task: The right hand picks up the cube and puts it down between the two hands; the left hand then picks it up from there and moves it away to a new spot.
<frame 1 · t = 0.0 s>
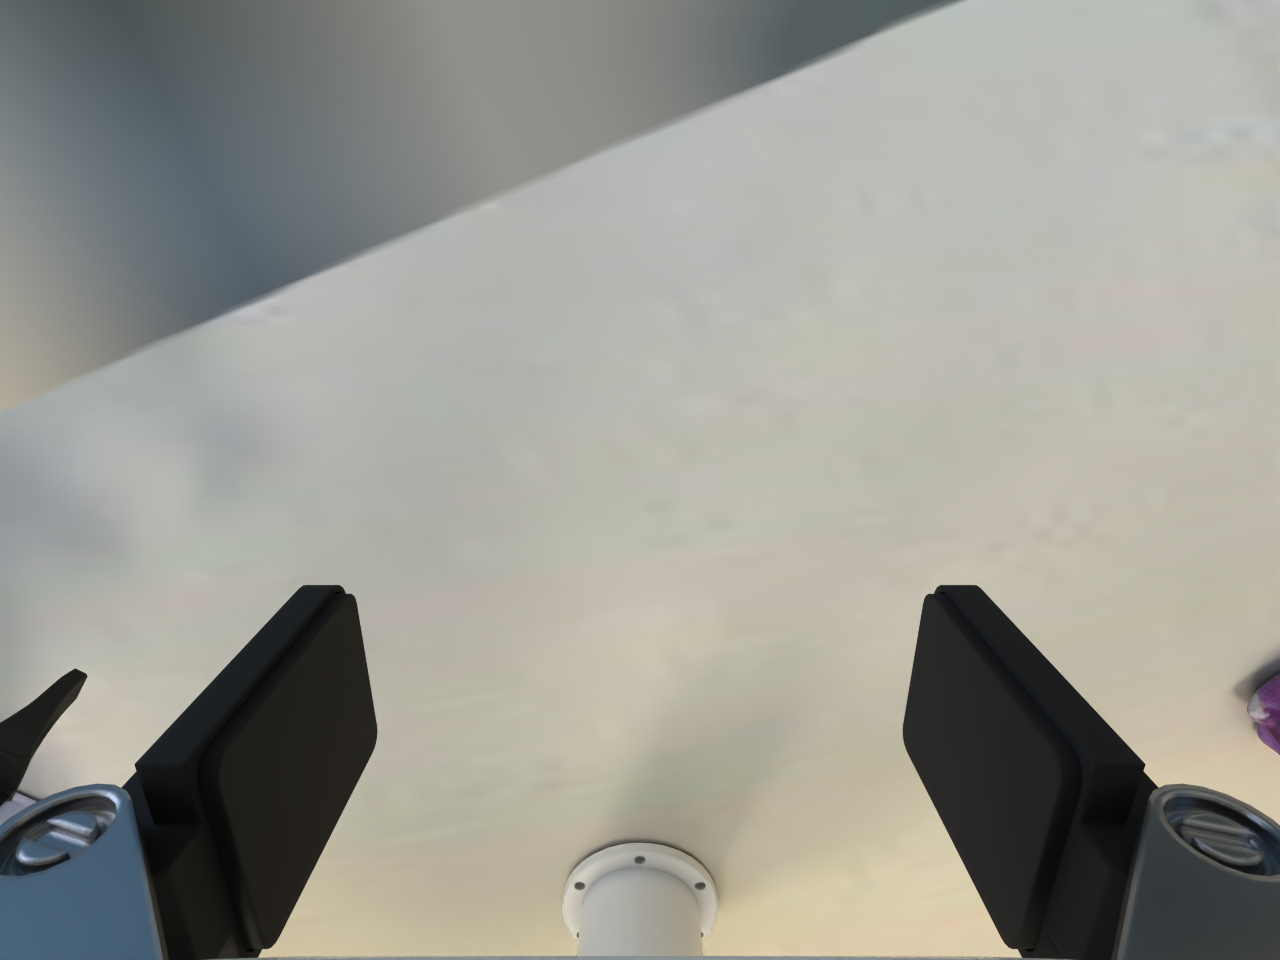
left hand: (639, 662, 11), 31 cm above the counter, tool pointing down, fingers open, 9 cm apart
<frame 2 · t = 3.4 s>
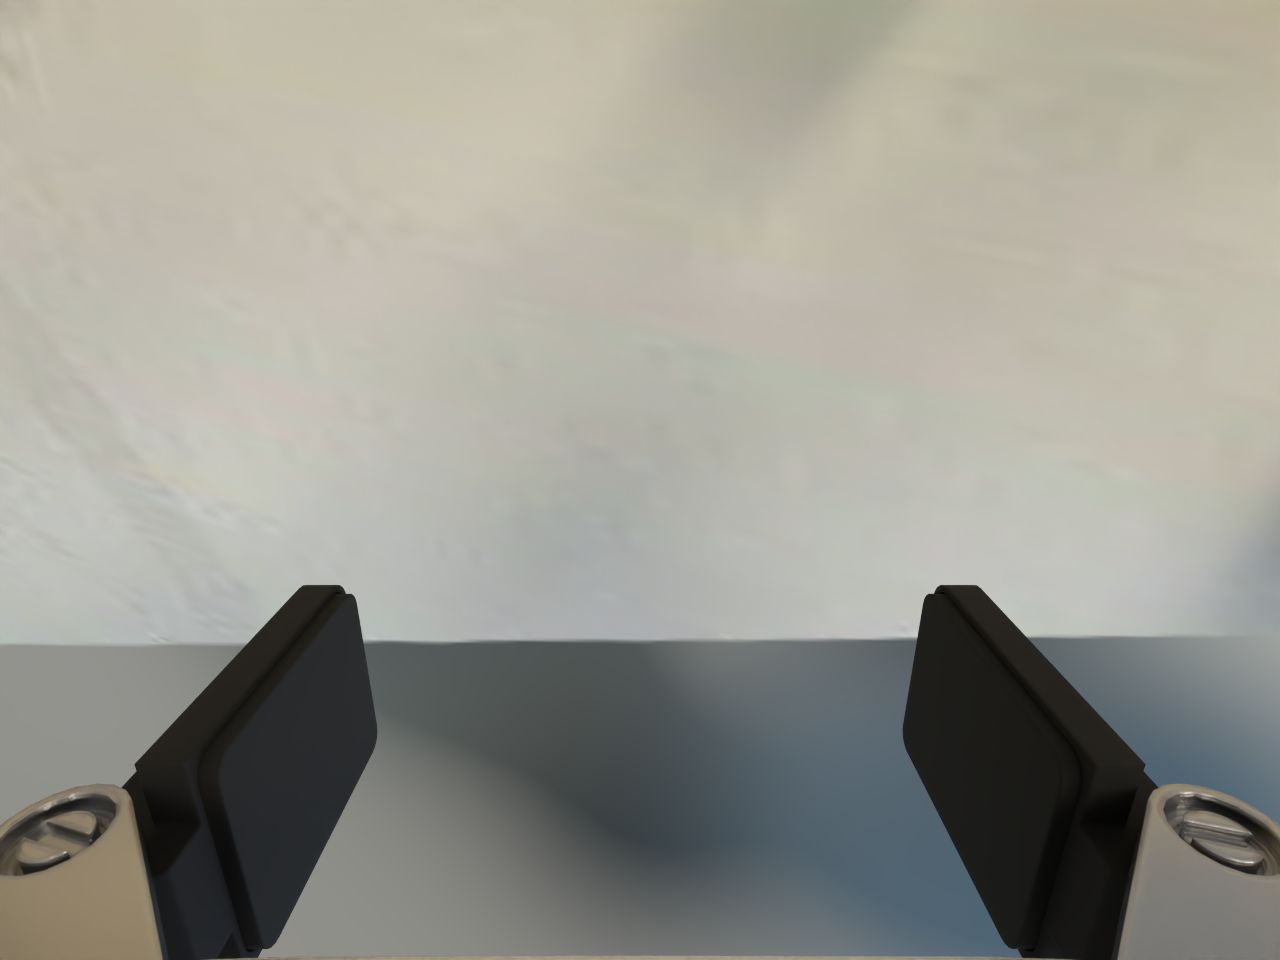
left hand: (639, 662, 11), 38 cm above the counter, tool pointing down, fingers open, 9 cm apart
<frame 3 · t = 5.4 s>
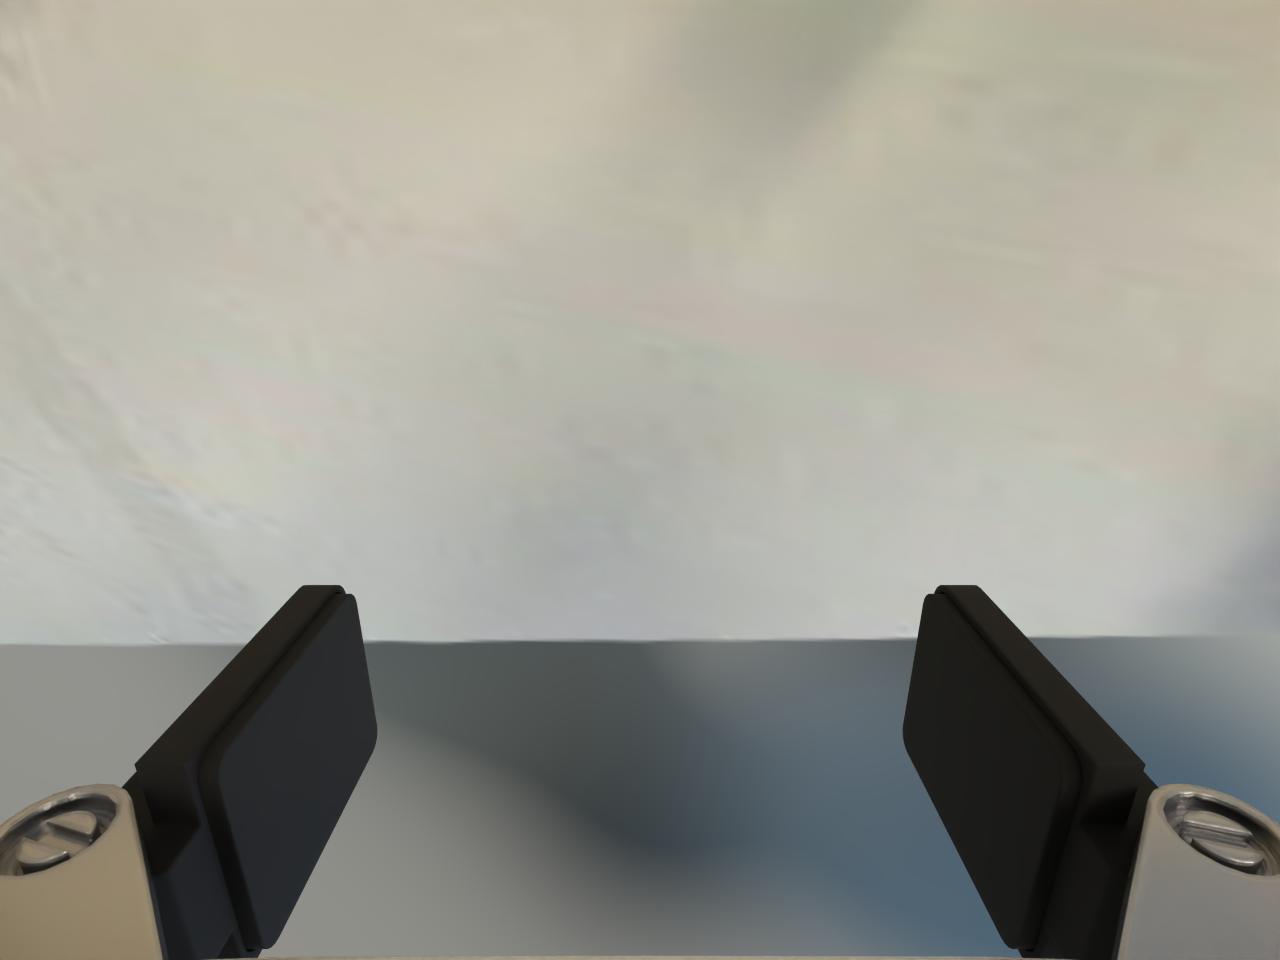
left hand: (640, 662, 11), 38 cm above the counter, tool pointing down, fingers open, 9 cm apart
when the right hand's fingers open (2 cm above the counter, at t = 7.6 s): cube stays where it is, on the counter.
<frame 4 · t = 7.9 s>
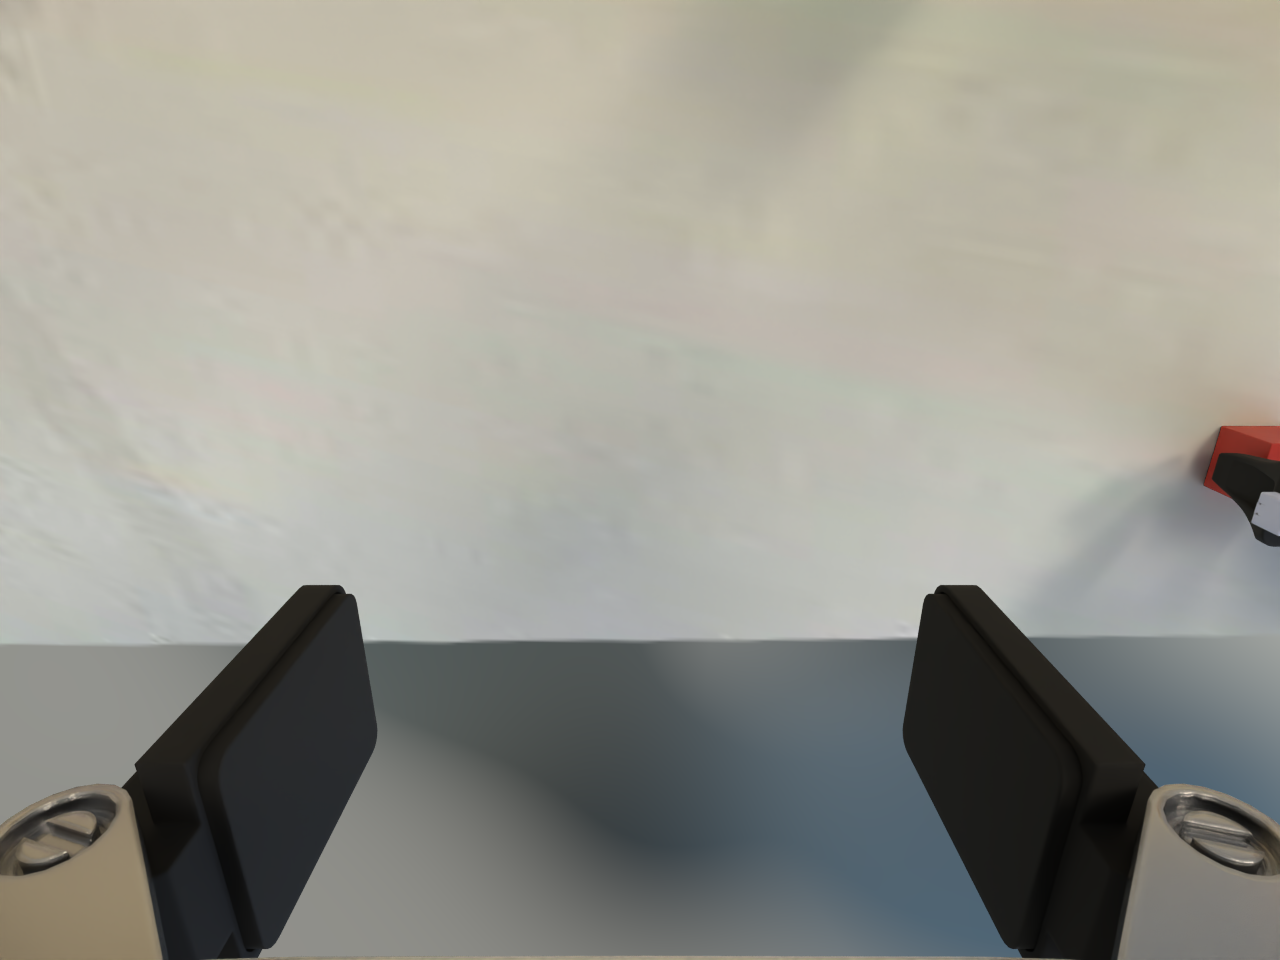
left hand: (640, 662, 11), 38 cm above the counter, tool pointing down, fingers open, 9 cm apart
cube: (1242, 456, 50), on the counter
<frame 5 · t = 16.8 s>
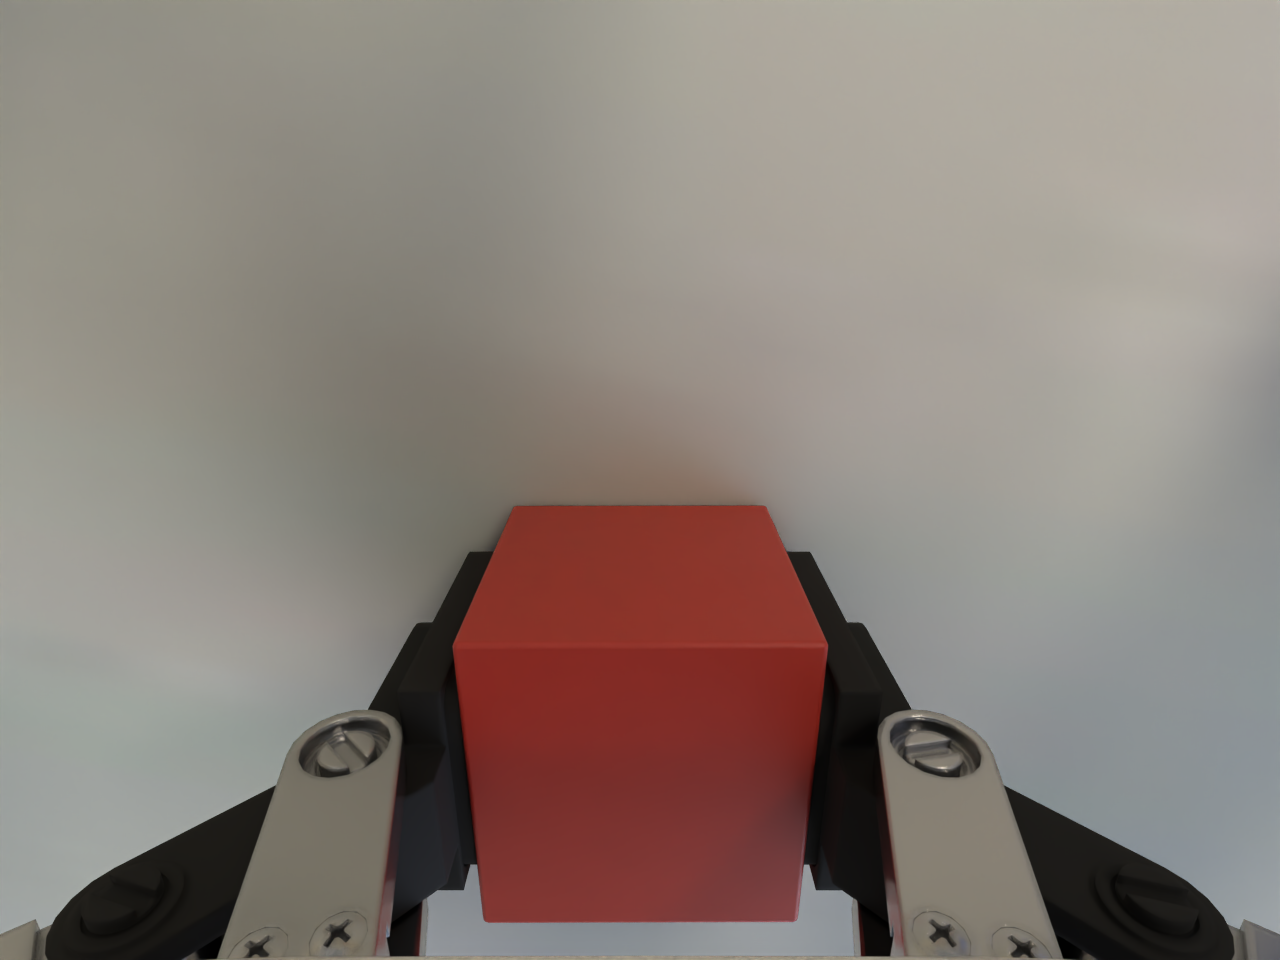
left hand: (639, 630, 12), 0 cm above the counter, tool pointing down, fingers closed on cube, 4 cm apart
cube: (639, 618, 13), on the counter, touching left hand
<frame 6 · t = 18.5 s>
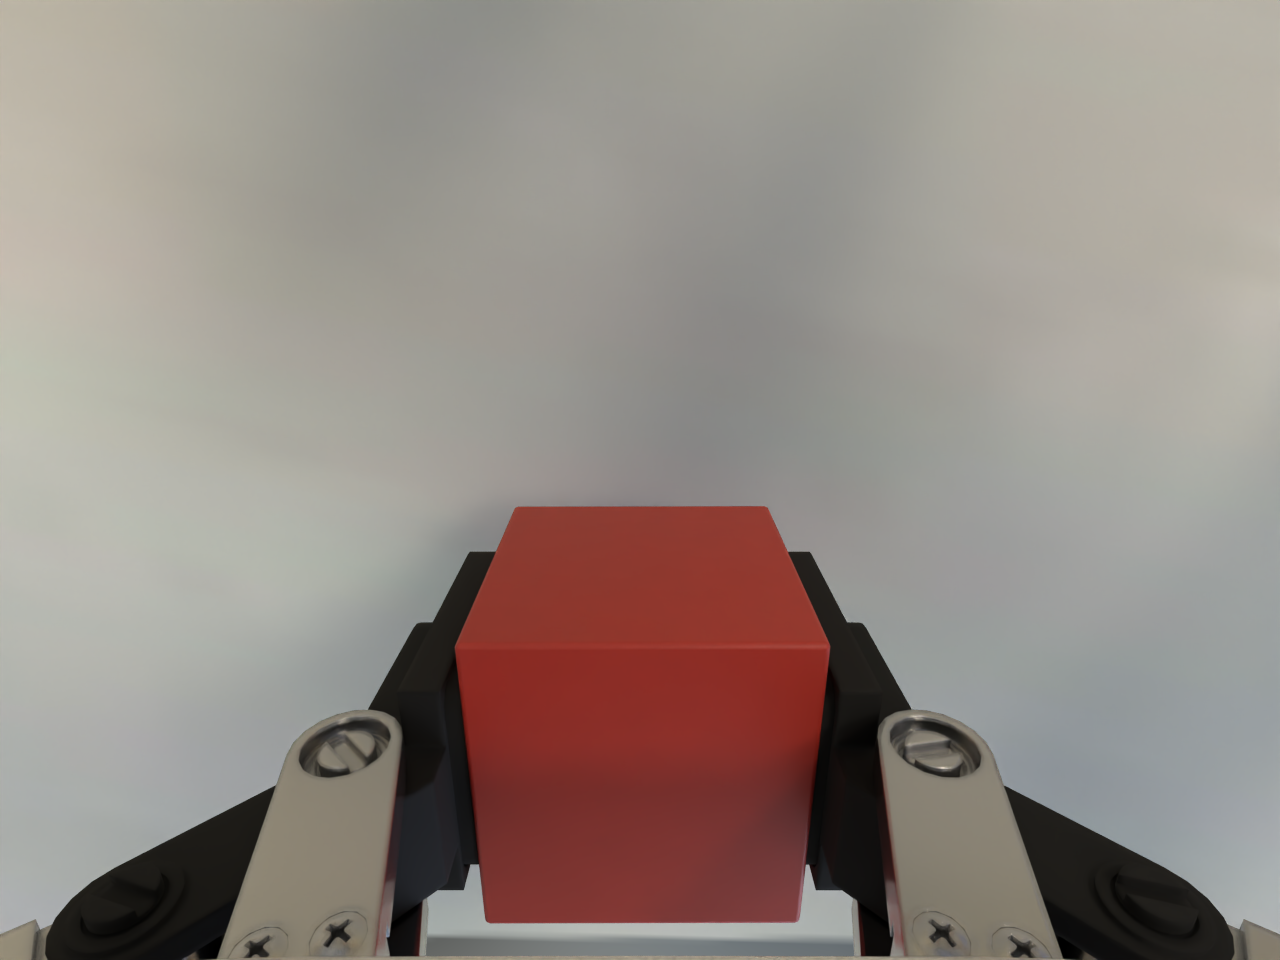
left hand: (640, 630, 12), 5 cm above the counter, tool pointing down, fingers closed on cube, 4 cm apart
cube: (641, 619, 13), point 5 cm above the counter, touching left hand
when the left hand's fingers open (1 cm above the counter, at t = 20.4 s): cube stays where it is, on the counter.
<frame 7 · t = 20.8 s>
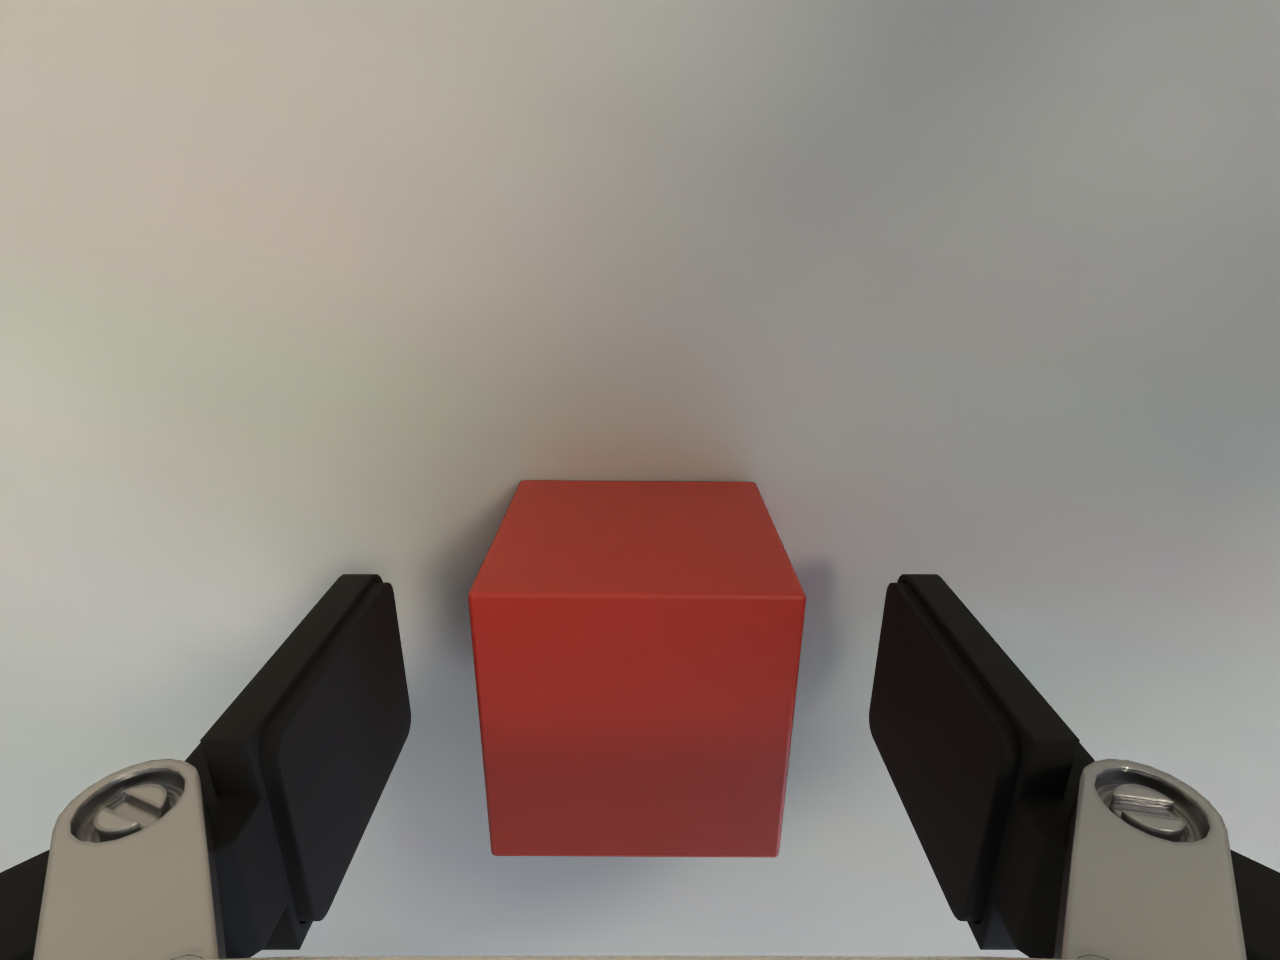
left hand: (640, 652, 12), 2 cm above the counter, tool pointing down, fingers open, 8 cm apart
cube: (637, 588, 14), on the counter
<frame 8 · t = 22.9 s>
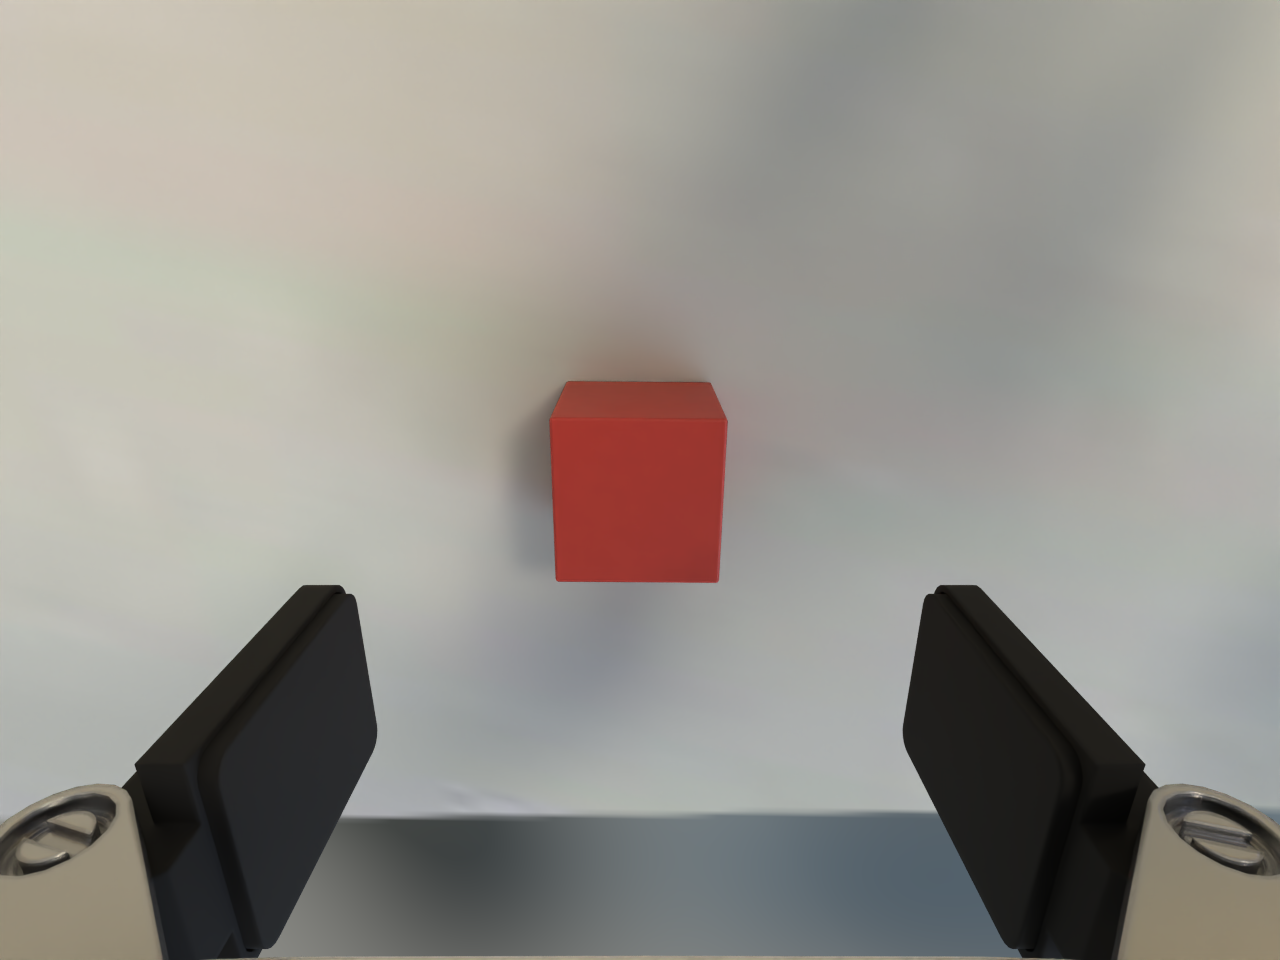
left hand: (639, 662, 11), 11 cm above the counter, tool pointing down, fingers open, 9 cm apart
cube: (638, 453, 21), on the counter
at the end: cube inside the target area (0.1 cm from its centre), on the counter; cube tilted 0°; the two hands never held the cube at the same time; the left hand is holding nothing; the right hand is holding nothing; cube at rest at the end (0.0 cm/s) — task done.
